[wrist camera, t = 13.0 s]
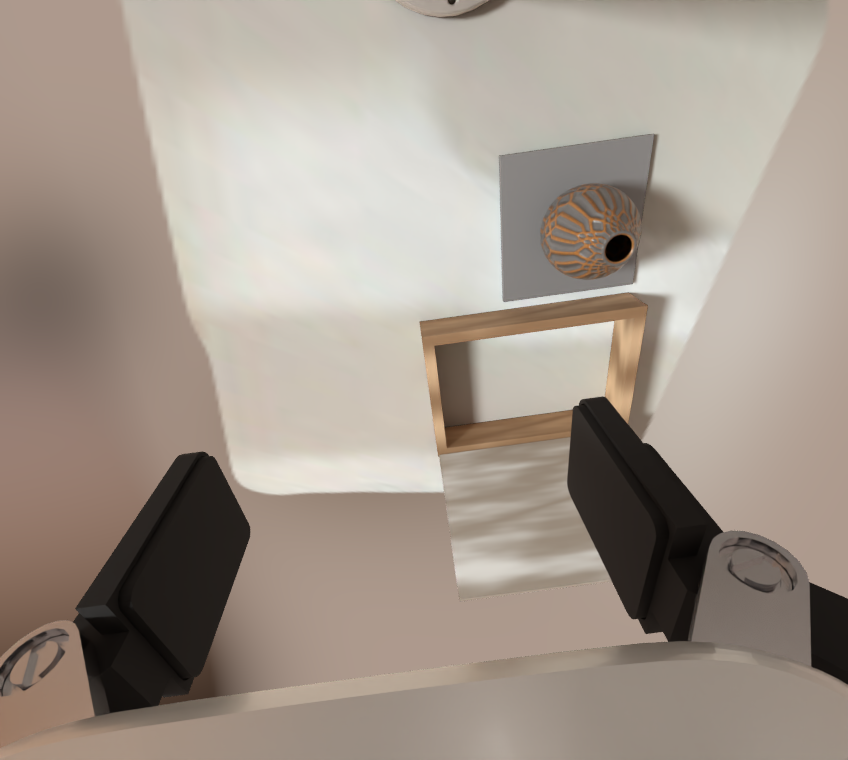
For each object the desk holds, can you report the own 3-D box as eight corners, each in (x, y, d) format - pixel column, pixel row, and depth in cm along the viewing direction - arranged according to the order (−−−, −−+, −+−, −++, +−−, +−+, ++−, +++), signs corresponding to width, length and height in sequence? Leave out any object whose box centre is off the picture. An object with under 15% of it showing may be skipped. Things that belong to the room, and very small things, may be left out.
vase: (626, 193, 34) (692, 210, 26) (587, 273, 37) (636, 308, 30) (551, 167, 33) (598, 178, 25) (518, 253, 36) (551, 284, 28)
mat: (499, 155, 32) (500, 156, 32) (650, 133, 32) (654, 134, 32) (502, 300, 39) (503, 302, 38) (629, 282, 39) (632, 283, 38)
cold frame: (419, 321, 39) (434, 433, 25) (628, 292, 39) (769, 387, 24) (440, 469, 49) (459, 612, 34) (606, 447, 49) (697, 580, 34)
